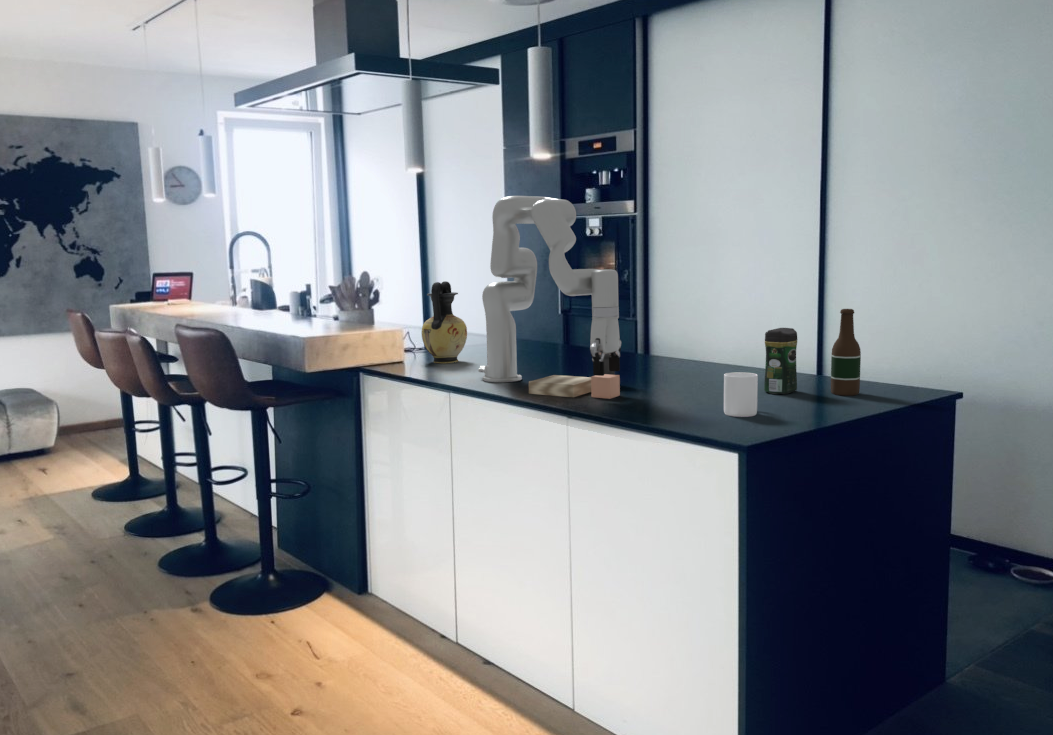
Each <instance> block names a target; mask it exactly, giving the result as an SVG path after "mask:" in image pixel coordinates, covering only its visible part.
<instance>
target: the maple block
mask: <svg viewBox="0 0 1053 735" xmlns="http://www.w3.org/2000/svg"><path fill="white" fill-rule="evenodd" d="M591 377H592V376H589V377H587V376H576V375H575V376H574V375H560V374H553V375H549V376H545V377H541V378H537V379H534V380H529V381H528V394H529V395H530V394H531V395H543V396H553V397H566V398H576V397H579V396H582V395H585V394H588V393H591Z"/></svg>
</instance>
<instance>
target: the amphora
mask: <svg viewBox="0 0 1053 735" xmlns="http://www.w3.org/2000/svg"><path fill="white" fill-rule="evenodd" d="M456 295H459V292H455V291H453V292H452V285H451V283H450V282H449V281H441V282H439V281H436V282H435V281H434V282H433V284H432V286H431V292H430V293H427V294H426V296H429V297H430V299H431V300H430V301H431V303H432V311H433V312H432V313H433V316H431V317H430V318H428V319H427V320H425V321H424V323H423V324H422V327H421V340H422V342H423V345H424V347H425V349H426V351H427V352H428V353H429V354H430V355H431V356H432V357H433V363H434V364H454V362H455V363H458V362H459V359H458V356H459V355H460V353H461V352H463V349H464V348H465V345H466V342H467V339H468V328H467V324H466V322H465V321H464V320H463V319H462V318H460V317H459V316H456V315H454V314H453V313H454V312H453V309H452V308H453V307H452V303H454V300H455V297H456Z"/></svg>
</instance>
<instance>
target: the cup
mask: <svg viewBox="0 0 1053 735" xmlns="http://www.w3.org/2000/svg"><path fill="white" fill-rule="evenodd" d="M758 376H759V375H758V374H757V373H753V372H745V371H743V372H742V371H738V372H726V373H724V374H723V413H724V414H725V416H728V417H737V418H748V417H754V416H756V415H757V413H758V385H759V384H758V382H759V381H758Z"/></svg>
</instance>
